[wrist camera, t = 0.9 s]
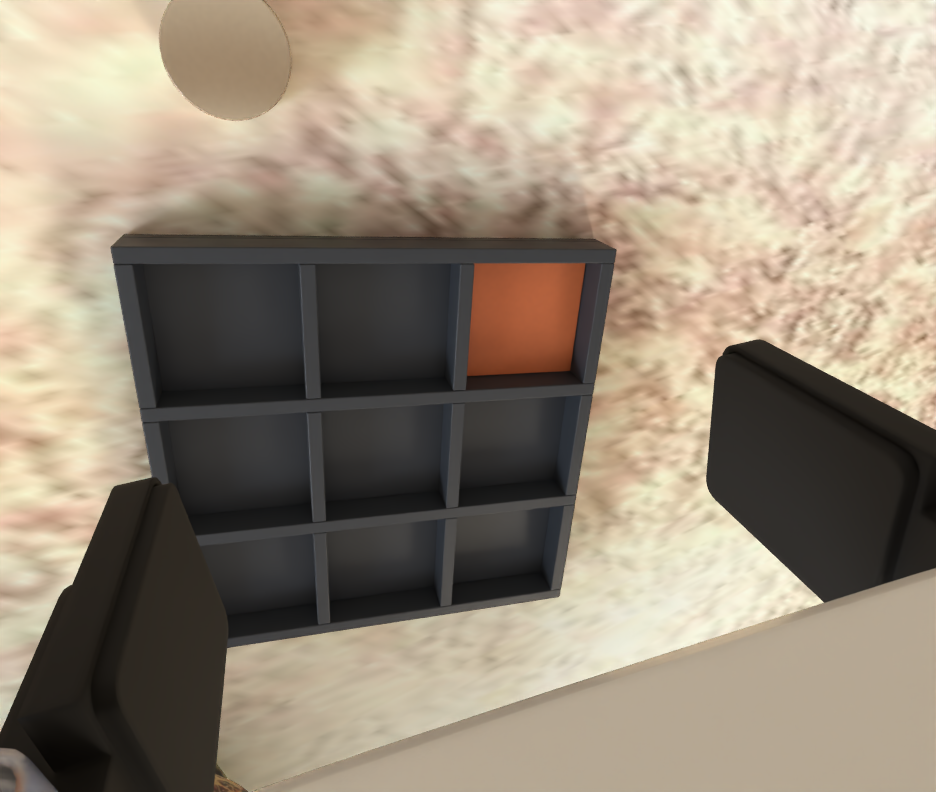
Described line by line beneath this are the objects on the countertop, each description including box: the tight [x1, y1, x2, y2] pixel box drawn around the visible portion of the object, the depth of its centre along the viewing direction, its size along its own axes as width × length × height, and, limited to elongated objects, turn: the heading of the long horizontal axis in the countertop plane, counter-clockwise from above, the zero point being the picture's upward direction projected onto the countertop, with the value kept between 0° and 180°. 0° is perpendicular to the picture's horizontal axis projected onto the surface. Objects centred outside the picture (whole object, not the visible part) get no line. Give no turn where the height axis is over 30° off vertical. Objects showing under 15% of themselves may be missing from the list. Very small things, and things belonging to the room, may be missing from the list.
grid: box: [111, 234, 616, 648], centre depth 33 cm, size 22×22×2 cm
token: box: [159, 0, 291, 121], centre depth 24 cm, size 4×4×3 cm
